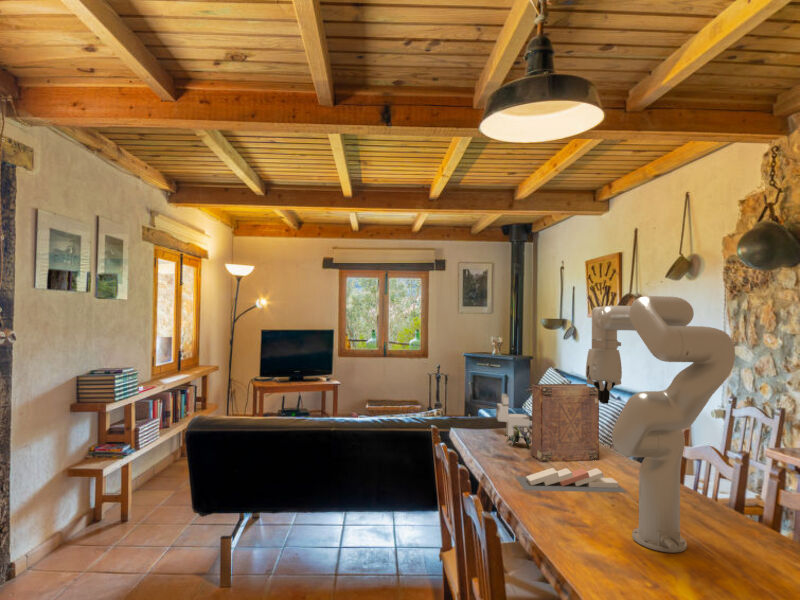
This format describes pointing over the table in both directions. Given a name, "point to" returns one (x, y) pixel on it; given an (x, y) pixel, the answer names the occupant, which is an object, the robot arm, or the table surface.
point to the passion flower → (519, 434)
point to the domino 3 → (575, 477)
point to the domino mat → (565, 487)
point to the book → (565, 422)
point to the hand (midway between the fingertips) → (603, 402)
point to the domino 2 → (560, 477)
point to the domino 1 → (542, 476)
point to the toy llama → (511, 417)
